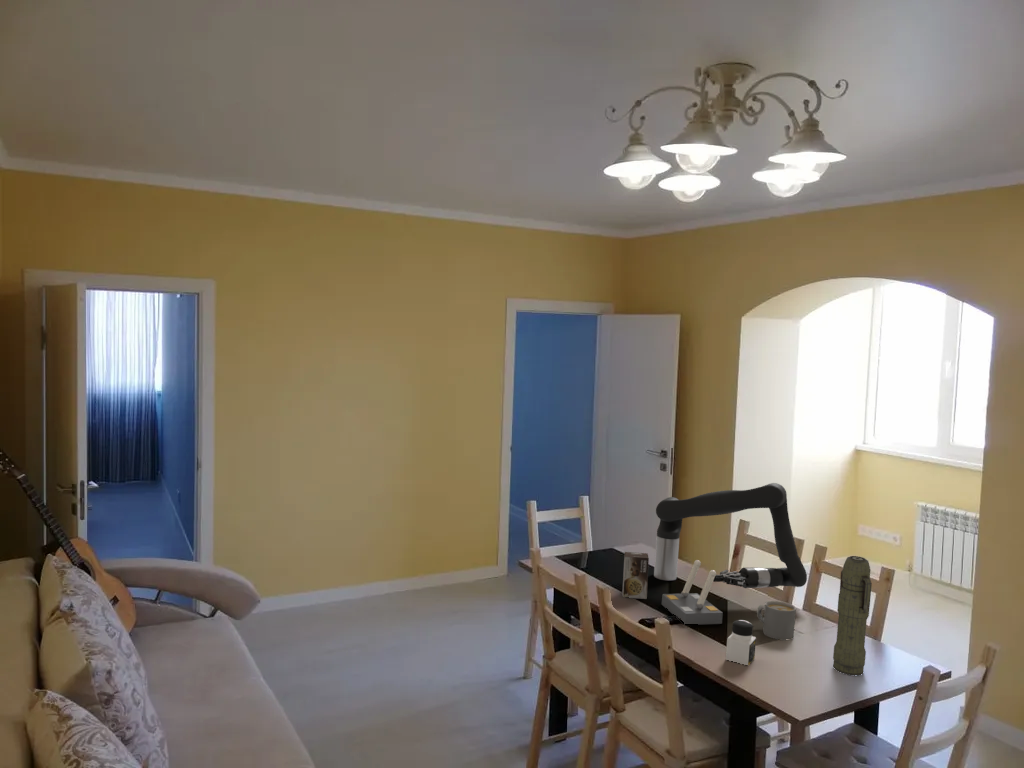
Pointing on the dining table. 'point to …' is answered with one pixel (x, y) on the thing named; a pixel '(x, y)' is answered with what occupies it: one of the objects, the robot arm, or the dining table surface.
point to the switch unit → (691, 609)
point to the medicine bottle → (741, 643)
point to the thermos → (852, 616)
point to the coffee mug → (777, 619)
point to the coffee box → (635, 575)
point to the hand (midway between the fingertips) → (712, 578)
